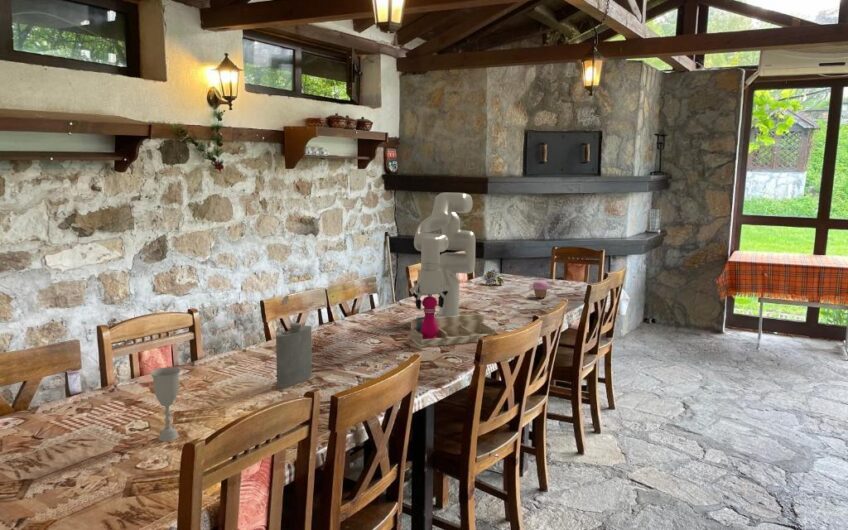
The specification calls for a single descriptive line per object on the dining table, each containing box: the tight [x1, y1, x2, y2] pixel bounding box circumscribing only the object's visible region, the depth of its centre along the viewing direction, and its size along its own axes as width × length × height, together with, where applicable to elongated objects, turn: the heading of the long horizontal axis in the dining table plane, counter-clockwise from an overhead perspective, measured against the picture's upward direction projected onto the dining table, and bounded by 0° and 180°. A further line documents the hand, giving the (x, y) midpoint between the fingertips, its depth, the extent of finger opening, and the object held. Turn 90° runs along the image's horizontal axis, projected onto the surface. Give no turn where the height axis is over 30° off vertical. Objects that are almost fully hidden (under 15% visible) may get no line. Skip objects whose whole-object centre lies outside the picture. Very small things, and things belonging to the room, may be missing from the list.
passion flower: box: [481, 268, 505, 286], centre depth 395 cm, size 11×11×12 cm
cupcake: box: [532, 279, 550, 299], centre depth 357 cm, size 9×9×10 cm
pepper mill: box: [421, 294, 438, 339], centre depth 261 cm, size 7×7×20 cm
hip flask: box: [275, 322, 313, 390], centre depth 210 cm, size 16×4×20 cm, turn 151°
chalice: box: [150, 366, 181, 442], centre depth 166 cm, size 7×7×18 cm
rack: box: [410, 313, 496, 348], centre depth 265 cm, size 33×12×9 cm, turn 111°
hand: (429, 307), depth 261 cm, fingers open, 9 cm apart
